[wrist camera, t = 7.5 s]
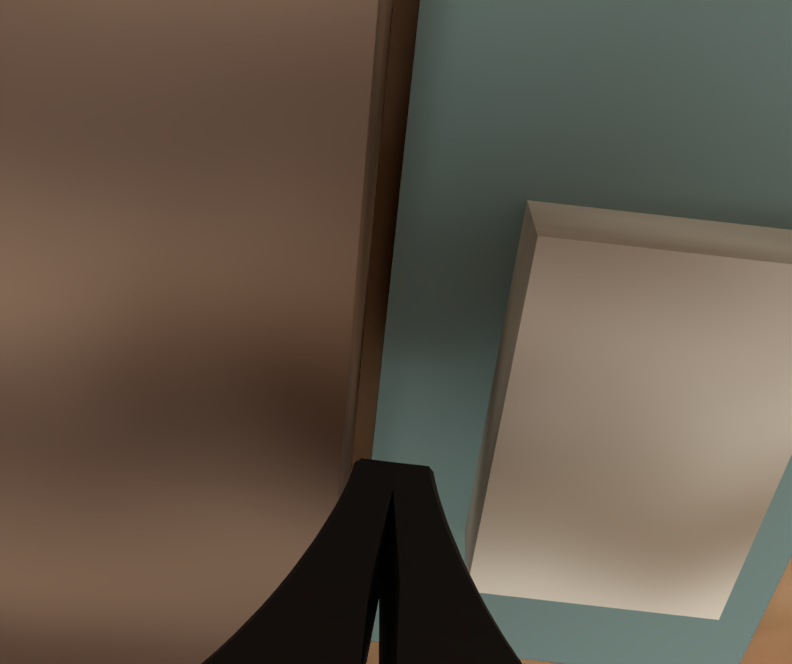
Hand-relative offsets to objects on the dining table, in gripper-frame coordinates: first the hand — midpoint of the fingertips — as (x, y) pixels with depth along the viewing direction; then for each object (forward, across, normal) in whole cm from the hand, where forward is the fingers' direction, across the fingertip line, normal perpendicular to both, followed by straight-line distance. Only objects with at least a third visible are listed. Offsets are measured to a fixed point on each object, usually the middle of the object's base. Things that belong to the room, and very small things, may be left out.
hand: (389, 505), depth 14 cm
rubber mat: (+5, -5, 0) cm, 7 cm away
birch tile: (+2, -5, 0) cm, 6 cm away
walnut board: (+5, +7, 0) cm, 8 cm away
